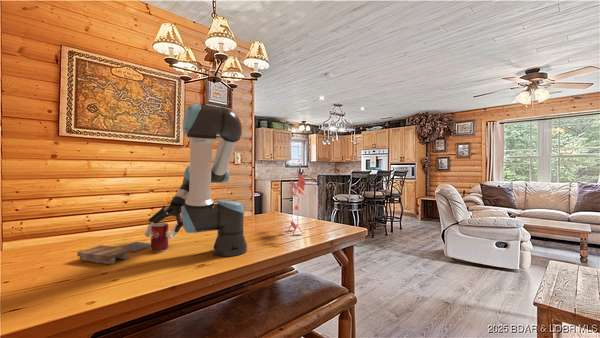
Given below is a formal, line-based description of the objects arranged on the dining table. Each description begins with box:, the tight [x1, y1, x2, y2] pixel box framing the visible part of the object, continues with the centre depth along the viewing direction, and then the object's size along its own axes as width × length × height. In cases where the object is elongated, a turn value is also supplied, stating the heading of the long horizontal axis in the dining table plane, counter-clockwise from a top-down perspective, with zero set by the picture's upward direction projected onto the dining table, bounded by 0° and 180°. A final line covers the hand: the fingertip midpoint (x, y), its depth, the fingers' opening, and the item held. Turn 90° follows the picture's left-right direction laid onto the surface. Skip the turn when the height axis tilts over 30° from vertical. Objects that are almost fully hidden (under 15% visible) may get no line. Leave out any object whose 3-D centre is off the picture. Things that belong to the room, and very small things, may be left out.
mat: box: [120, 241, 151, 253], centre depth 129 cm, size 12×12×1 cm
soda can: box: [150, 222, 170, 253], centre depth 125 cm, size 7×7×12 cm
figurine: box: [287, 173, 307, 235], centre depth 161 cm, size 15×26×35 cm, turn 19°
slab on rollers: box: [76, 244, 131, 265], centre depth 112 cm, size 16×10×4 cm, turn 75°
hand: (158, 236), depth 125 cm, fingers open, 13 cm apart
